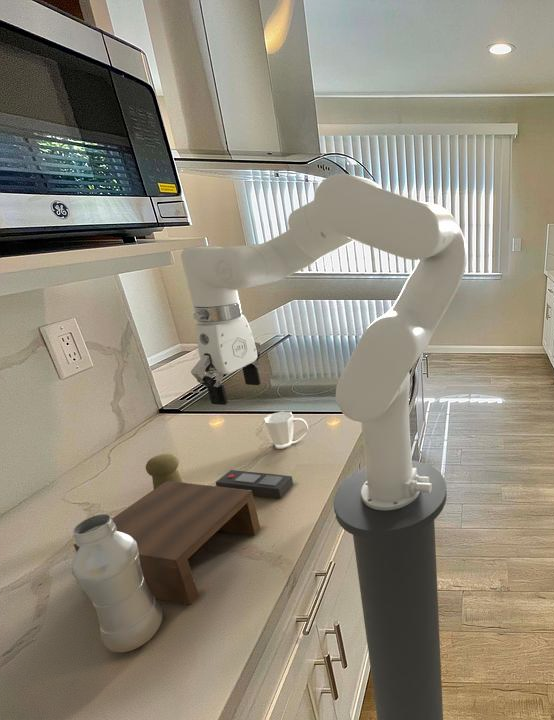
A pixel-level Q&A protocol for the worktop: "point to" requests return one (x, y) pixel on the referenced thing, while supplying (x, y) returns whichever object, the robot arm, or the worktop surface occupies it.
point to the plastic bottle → (115, 584)
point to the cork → (163, 469)
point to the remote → (257, 483)
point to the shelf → (182, 531)
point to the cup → (282, 428)
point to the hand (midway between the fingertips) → (237, 393)
